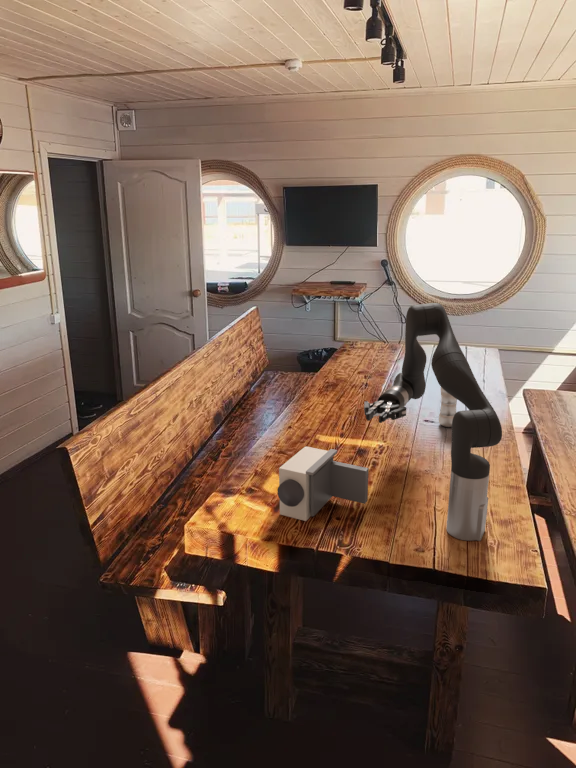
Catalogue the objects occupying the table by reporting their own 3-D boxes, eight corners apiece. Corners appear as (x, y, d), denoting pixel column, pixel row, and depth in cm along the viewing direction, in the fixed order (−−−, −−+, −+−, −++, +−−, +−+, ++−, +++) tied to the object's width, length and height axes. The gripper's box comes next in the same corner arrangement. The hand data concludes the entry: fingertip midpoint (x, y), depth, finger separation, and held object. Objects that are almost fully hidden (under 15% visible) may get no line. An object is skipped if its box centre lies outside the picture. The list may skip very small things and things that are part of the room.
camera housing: (336, 497, 176) (337, 450, 172) (309, 526, 161) (309, 475, 157) (305, 489, 181) (305, 443, 176) (276, 517, 166) (275, 468, 161)
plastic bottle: (455, 429, 224) (460, 377, 217) (437, 427, 226) (440, 376, 219) (457, 423, 229) (461, 372, 223) (438, 421, 231) (442, 371, 225)
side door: (367, 503, 170) (368, 464, 166) (349, 525, 159) (350, 484, 156) (330, 495, 175) (330, 457, 172) (310, 515, 164) (310, 475, 161)
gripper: (372, 386, 191) (351, 402, 177) (416, 392, 185) (398, 410, 170) (371, 408, 194) (350, 426, 179) (414, 415, 187) (397, 435, 173)
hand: (374, 418), depth 175 cm, fingers open, 3 cm apart
